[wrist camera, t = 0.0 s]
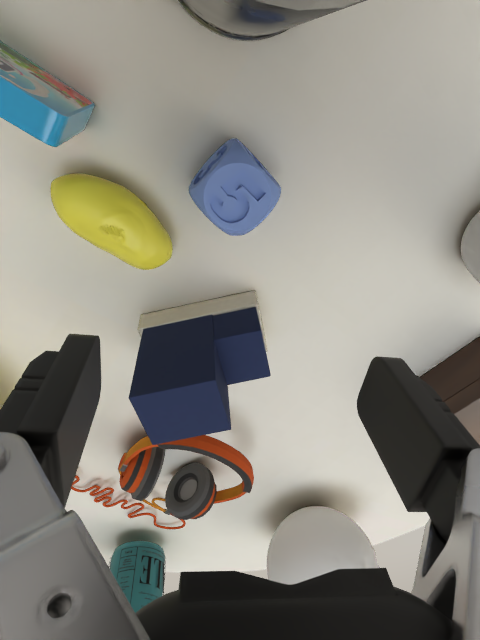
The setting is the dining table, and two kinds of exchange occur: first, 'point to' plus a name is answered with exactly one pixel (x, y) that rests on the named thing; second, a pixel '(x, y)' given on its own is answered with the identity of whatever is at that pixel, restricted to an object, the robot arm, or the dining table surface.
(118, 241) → the lemon
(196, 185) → the decorative dice
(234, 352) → the navy blue block
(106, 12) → the dining table surface
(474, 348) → the brown platform
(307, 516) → the decorative ball
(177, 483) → the headphones
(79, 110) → the blue rectangular panel
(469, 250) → the cup
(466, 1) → the dining table surface
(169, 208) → the dining table surface
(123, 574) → the beverage bottle
